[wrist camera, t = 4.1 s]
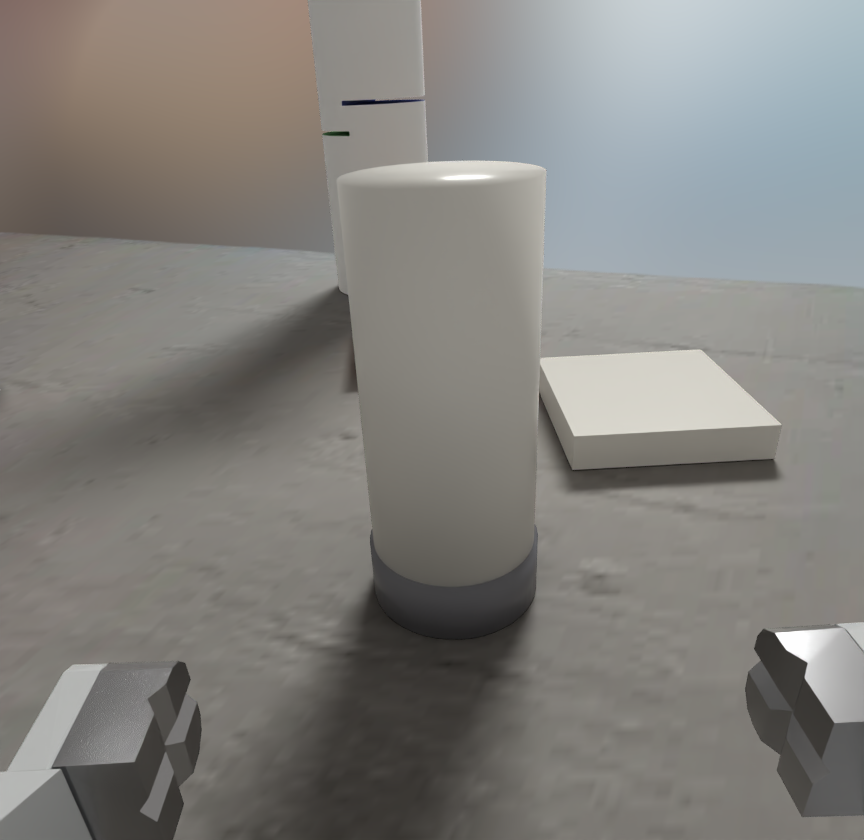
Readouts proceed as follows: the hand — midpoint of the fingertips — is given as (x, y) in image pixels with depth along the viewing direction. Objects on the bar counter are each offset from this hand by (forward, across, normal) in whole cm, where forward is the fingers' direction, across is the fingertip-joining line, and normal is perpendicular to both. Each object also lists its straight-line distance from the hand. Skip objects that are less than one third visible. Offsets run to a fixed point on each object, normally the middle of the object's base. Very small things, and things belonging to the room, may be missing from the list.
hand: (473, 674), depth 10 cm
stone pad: (+20, -9, +6) cm, 22 cm away
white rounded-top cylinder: (+10, 0, +6) cm, 11 cm away
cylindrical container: (+44, +3, +7) cm, 44 cm away
